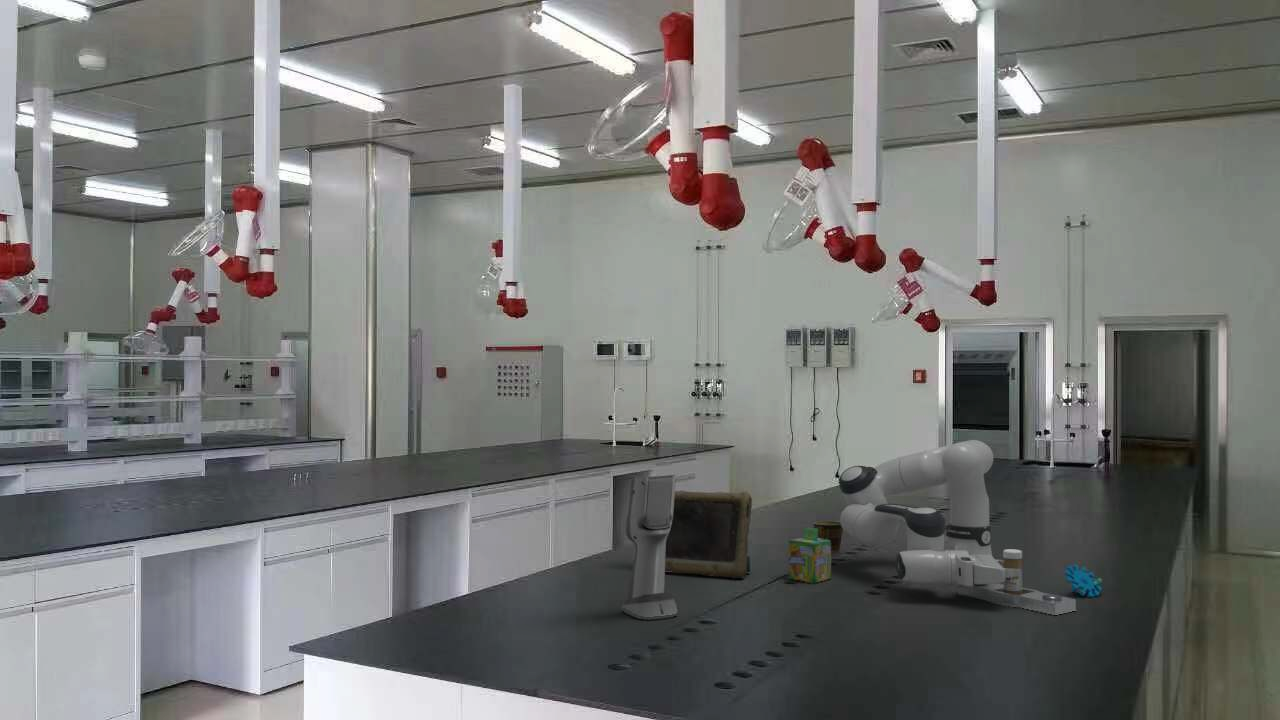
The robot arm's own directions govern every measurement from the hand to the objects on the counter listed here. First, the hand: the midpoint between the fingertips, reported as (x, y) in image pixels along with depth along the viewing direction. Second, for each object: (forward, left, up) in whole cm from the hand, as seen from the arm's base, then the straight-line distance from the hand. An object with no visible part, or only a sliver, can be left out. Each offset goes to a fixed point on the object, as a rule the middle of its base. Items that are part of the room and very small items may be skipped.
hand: (1017, 568), depth 251 cm
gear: (+4, +22, -9) cm, 24 cm away
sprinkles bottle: (-1, -1, -9) cm, 9 cm away
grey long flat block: (-1, -1, -9) cm, 9 cm away
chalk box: (-53, -24, -9) cm, 58 cm away
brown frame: (-79, -44, -9) cm, 91 cm away
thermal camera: (-45, -84, -9) cm, 95 cm away
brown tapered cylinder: (-82, +9, -9) cm, 83 cm away
